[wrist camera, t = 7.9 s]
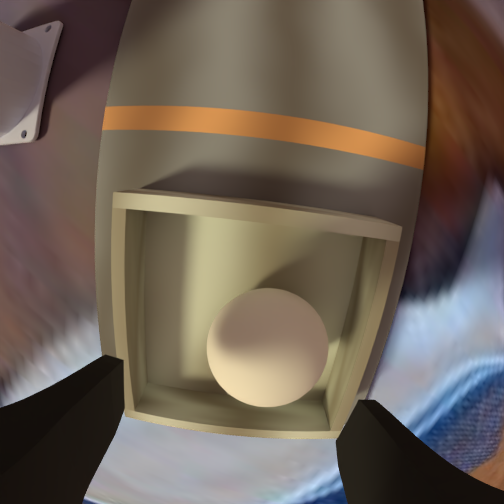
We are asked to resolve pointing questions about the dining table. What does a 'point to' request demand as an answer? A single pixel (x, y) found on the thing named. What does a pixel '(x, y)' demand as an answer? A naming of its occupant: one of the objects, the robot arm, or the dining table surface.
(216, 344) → the ball
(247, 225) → the throwing board
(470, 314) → the dining table surface
